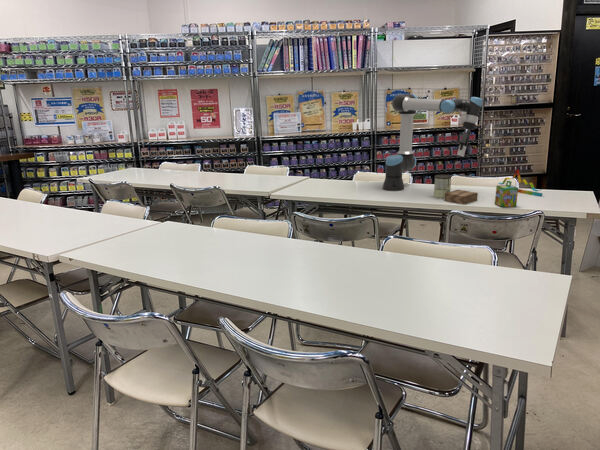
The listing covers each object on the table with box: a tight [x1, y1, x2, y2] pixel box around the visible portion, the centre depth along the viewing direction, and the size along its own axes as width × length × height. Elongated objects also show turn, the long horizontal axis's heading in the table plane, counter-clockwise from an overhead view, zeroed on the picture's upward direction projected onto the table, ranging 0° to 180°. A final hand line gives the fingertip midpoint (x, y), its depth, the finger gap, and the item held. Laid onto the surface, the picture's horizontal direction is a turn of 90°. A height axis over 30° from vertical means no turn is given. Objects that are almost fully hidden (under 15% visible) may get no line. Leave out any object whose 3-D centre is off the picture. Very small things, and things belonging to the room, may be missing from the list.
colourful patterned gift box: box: [494, 180, 519, 208], centre depth 277 cm, size 9×9×15 cm
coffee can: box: [433, 174, 452, 200], centre depth 302 cm, size 10×10×14 cm
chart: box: [497, 169, 543, 197], centre depth 309 cm, size 30×3×15 cm, turn 32°
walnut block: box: [444, 189, 479, 205], centre depth 292 cm, size 14×14×5 cm
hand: (460, 155), depth 299 cm, fingers open, 13 cm apart
